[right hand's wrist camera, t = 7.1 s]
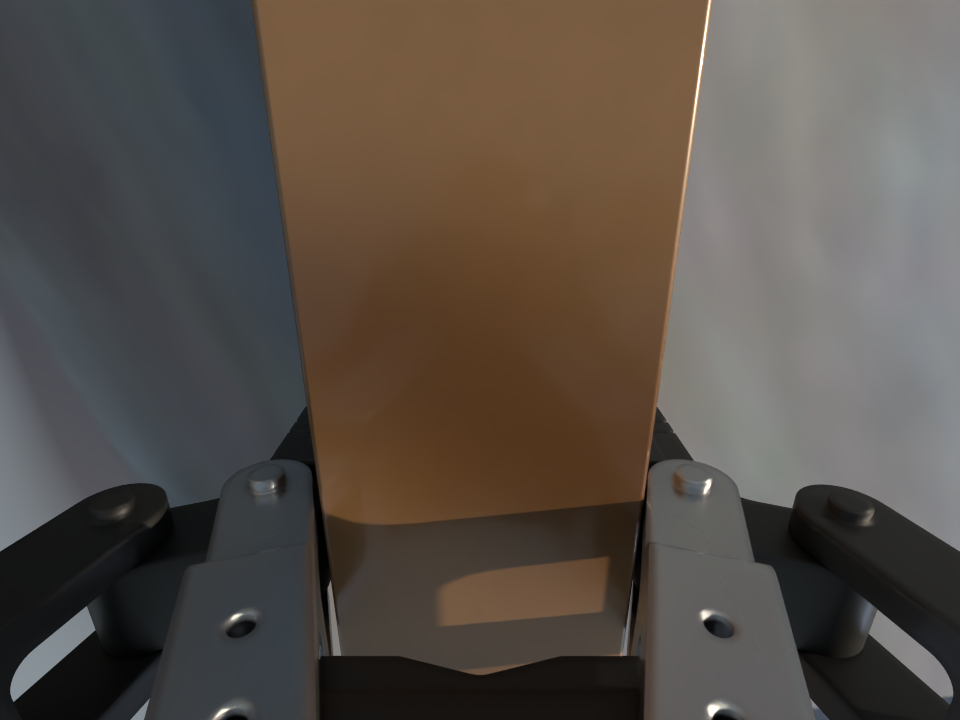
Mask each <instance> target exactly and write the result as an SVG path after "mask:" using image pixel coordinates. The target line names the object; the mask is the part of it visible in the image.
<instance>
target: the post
mask: <svg viewBox="0 0 960 720" xmlns="http://www.w3.org/2000/svg"><path fill="white" fill-rule="evenodd" d="M251 2H252V9H253V16H254V24H255V31H256V38H257V46H258V53H259V60H260V67H261V75H262V82H263V89H264V96H265V104H266V111H267V118H268V126H269V133H270V140H271V147H272V155H273V162H274V169H275V176H276V184H277V191H278V198H279V206H280V213H281V220H282V227H283V235H284V242H285V249H286V256H287V264H288V271H289V278H290V286H291V293H292V300H293V307H294V315H295V322H296V329H297V336H298V344H299V351H300V358H301V366H302V373H303V380H304V387H305V395H306V402H307V409H308V416H309V424H310V431H311V438H312V446H313V453H314V460H315V467H316V475H317V482H318V489H319V496H320V504H321V511H322V518H323V526H324V533H325V540H326V547H327V555H328V562H329V569H330V576H331V584H332V591H333V598H334V606H335V613H336V620H337V627H338V635H339V642H340V649H341V656H401V657H405V658H409V659H413V660H417V661H421V662H425V663H429V664H433V665H437V666H441V667H445V668H450V669H454V670H458V671H462V672H466V673H470V674H475V675H485V674H490V673H494V672H498V671H502V670H506V669H510V668H515V667H519V666H523V665H527V664H531V663H535V662H539V661H543V660H547V659H551V658H555V657H559V656H622V654H623V647H624V639H625V632H626V625H627V618H628V610H629V603H630V596H631V589H632V581H633V574H634V567H635V559H636V552H637V545H638V538H639V530H640V523H641V516H642V509H643V501H644V494H645V487H646V480H647V472H648V465H649V458H650V451H651V443H652V436H653V429H654V421H655V414H656V407H657V400H658V392H659V385H660V378H661V371H662V363H663V356H664V349H665V342H666V334H667V327H668V320H669V313H670V305H671V298H672V291H673V283H674V276H675V269H676V262H677V254H678V247H679V240H680V233H681V225H682V218H683V211H684V204H685V196H686V189H687V182H688V175H689V167H690V160H691V153H692V146H693V138H694V131H695V124H696V116H697V109H698V102H699V95H700V87H701V80H702V73H703V66H704V58H705V51H706V44H707V37H708V29H709V22H710V15H711V8H712V0H251Z"/></svg>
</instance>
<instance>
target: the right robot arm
mask: <svg viewBox="0 0 960 720" xmlns="http://www.w3.org/2000/svg"><path fill="white" fill-rule="evenodd" d="M330 580H331V576H330V569H329V562H328V555H327V547H326V540H325V533H324V526H323V518H322V511H321V504H320V496H319V489H318V482H317V475H316V467H315V460H314V453H313V446H312V438H311V431H310V424H309V416H308V409H307V407H305V409H304V410H303V412H302V413H301V415H300V416H299V418H298V419H297V422H295V424H294V425H293V427H292V428H291V430H290V433H288V434H287V436H286V437H285V439H284V440H283V441H282V443H281V444H280V446H279V447H278V449H277V450H276V452H275V453H274V455H273V456H272V458H271V459H270V460H269V461H264V462H260V463H256V464H253V465H251V466H248V467H246V468H244V469H242V470H240V471H238V472H237V473H235V474H234V475H233V476H231V477H230V478H229V479H228V480H227V481H226V482H225V484H224V485H223V488H222V490H221V495H220V498H218V499H214V500H209V501H205V502H200V503H194V504H189V505H184V506H179V507H174V508H170V507H169V503H168V499H167V495H166V493H165V491H164V490H163V489H162V488H161V487H159V486H157V485H153V484H147V483H136V484H127V485H122V486H117V487H113V488H110V489H107V490H104V491H101V492H99V493H96V494H94V495H92V496H90V497H88V498H86V499H84V500H82V501H81V502H79V503H77V504H76V505H74V506H72V507H71V508H69V509H68V510H66V511H64V512H63V513H61V514H60V515H58V516H56V517H55V518H53V519H52V520H50V521H48V522H47V523H45V524H44V525H42V526H40V527H39V528H37V529H36V530H34V531H32V532H31V533H29V534H28V535H26V536H24V537H23V538H21V539H20V540H18V541H16V542H15V543H13V544H12V545H10V546H8V547H7V548H5V549H4V550H2V551H0V720H130V719H131V718H132V717H133V716H134V715H135V714H136V713H137V712H138V711H139V709H140V708H141V707H142V706H143V705H144V704H145V703H146V702H147V701H148V699H149V698H150V700H149V704H148V707H147V711H146V715H145V719H144V720H816V718H815V715H814V711H813V707H812V704H811V700H810V698H811V699H812V701H813V702H814V703H815V704H816V705H817V706H818V707H819V708H820V709H821V711H822V712H823V713H824V714H825V715H826V716H827V717H828V718H829V719H830V720H960V551H958V550H956V549H955V548H953V547H952V546H950V545H948V544H947V543H945V542H944V541H942V540H940V539H939V538H937V537H936V536H934V535H932V534H931V533H929V532H928V531H926V530H924V529H923V528H921V527H920V526H918V525H916V524H915V523H913V522H912V521H910V520H908V519H907V518H905V517H904V516H902V515H900V514H899V513H897V512H896V511H894V510H892V509H891V508H889V507H888V506H886V505H884V504H883V503H881V502H879V501H878V500H876V499H874V498H872V497H870V496H867V495H865V494H862V493H860V492H857V491H854V490H851V489H847V488H843V487H839V486H833V485H810V486H807V487H804V488H802V489H800V490H799V491H798V492H797V494H796V497H795V500H794V504H793V508H787V507H782V506H777V505H771V504H766V503H761V502H756V501H752V500H748V499H744V498H741V497H740V495H739V490H738V488H737V485H736V484H735V482H734V481H733V480H732V479H731V478H730V477H729V476H727V475H726V474H725V473H723V472H722V471H720V470H718V469H716V468H714V467H712V466H709V465H707V464H704V463H700V462H696V461H694V460H693V459H692V457H691V456H690V454H689V453H688V451H687V450H686V449H685V447H684V446H683V444H682V443H681V441H680V440H679V438H678V437H677V435H676V434H675V433H673V429H672V428H671V427H670V425H669V424H668V423H666V419H665V418H664V416H663V415H662V413H661V412H660V410H659V409H658V408H657V407H656V414H655V421H654V429H653V436H652V443H651V451H650V458H649V465H648V472H647V480H646V487H645V494H644V501H643V509H642V516H641V523H640V530H639V538H638V545H637V552H636V559H635V567H634V574H633V586H632V593H631V600H630V615H629V629H628V644H627V656H559V657H555V658H551V659H547V660H543V661H539V662H535V663H531V664H527V665H523V666H519V667H515V668H510V669H506V670H502V671H498V672H494V673H490V674H485V675H475V674H470V673H466V672H462V671H458V670H454V669H450V668H445V667H441V666H437V665H433V664H429V663H425V662H421V661H417V660H413V659H409V658H405V657H401V656H333V644H332V629H331V615H330V600H329V593H328V586H329V583H330ZM86 606H87V607H88V610H89V613H90V616H91V618H92V621H93V624H94V626H95V629H96V630H95V631H94V632H93V633H92V634H91V635H90V636H88V637H87V638H86V639H85V640H84V641H83V642H82V643H80V644H79V645H78V646H77V647H76V648H75V649H74V650H72V651H71V652H70V653H69V654H68V655H67V656H66V657H65V658H63V659H62V660H61V661H60V662H59V663H58V664H57V665H55V666H54V667H53V668H52V669H51V670H50V671H49V672H47V673H46V674H45V675H44V676H43V677H42V678H41V679H39V680H38V681H37V682H36V683H35V684H34V685H33V686H31V687H30V688H29V689H28V690H27V691H26V692H25V693H23V694H22V695H21V696H20V697H19V698H18V699H17V700H16V701H14V702H13V700H12V698H11V695H10V686H11V682H12V678H13V676H14V674H15V672H16V670H17V668H18V666H19V665H20V664H21V662H22V661H23V660H24V658H25V657H26V656H27V655H28V654H29V653H30V652H31V651H32V650H33V649H35V648H36V647H37V646H38V645H40V644H41V643H42V642H43V641H44V640H46V639H47V638H48V637H49V636H50V635H52V634H53V633H54V632H55V631H57V630H58V629H59V628H60V627H62V626H63V625H64V624H65V623H66V622H68V621H69V620H70V619H71V618H72V617H74V616H75V615H76V614H77V613H78V612H80V611H81V610H82V609H83V608H85V607H86ZM877 609H878V610H879V611H880V612H881V613H883V614H884V615H885V616H886V617H888V618H889V619H890V620H891V621H892V622H894V623H895V624H896V625H897V626H899V627H900V628H901V629H902V630H903V631H905V632H906V633H907V634H908V635H909V636H911V637H912V638H913V639H914V640H916V641H917V642H918V643H919V644H920V645H922V646H923V647H924V648H925V649H927V650H928V651H929V652H930V653H931V654H932V655H933V656H935V658H936V659H937V660H938V661H939V662H940V663H941V665H942V666H943V667H944V669H945V670H946V672H947V674H948V676H949V678H950V680H951V683H952V686H953V700H952V702H951V704H950V705H949V704H948V703H947V702H946V701H944V700H943V699H942V698H941V697H940V696H939V695H938V694H937V693H935V692H934V691H933V690H932V689H931V688H930V687H929V686H927V685H926V684H925V683H924V682H923V681H922V680H921V679H919V678H918V677H917V676H916V675H915V674H914V673H913V672H911V671H910V670H909V669H908V668H907V667H906V666H905V665H903V664H902V663H901V662H900V661H899V660H898V659H897V658H896V657H894V656H893V655H892V654H891V653H890V652H889V651H888V650H886V649H885V648H884V647H883V646H882V645H881V644H880V643H878V642H877V641H876V640H875V639H874V638H873V637H872V636H870V635H869V634H868V633H869V631H870V628H871V625H872V623H873V620H874V617H875V615H876V612H877Z"/></svg>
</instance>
